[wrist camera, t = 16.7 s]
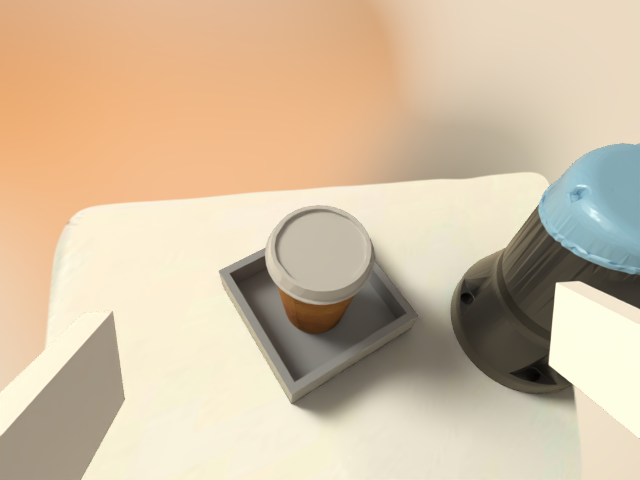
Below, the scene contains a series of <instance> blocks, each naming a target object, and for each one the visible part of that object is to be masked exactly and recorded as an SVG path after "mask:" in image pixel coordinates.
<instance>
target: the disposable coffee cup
mask: <svg viewBox="0 0 640 480" xmlns="http://www.w3.org/2000/svg"><path fill="white" fill-rule="evenodd" d="M265 259H266V266H267V269H268V272H269V274H270V276H271V278H272V280H273V281H274V282H275V283H276V285H277V287H278V290H279V293H280V296H281V300H282V302H283V306H284V309H285V312H286V315H287V317H288V319H289V321H290V322H291V323H292V324H293V325H294V326H295V327H296V328H298V329H299V330H301V331H304V332H306V333H311V334H318V333H323V332H326V331H329V330H331V329H332V328H334V327H335V326H336V325H337V324H338V323H339V321H340V320H341V318H342V316H343V314H344V313H345V311H346V309H347V308H348V306H349V304H350V303H351V301H352V299H353V298H354V296H355V294H357V293H358V292H359V291H360V290H361V289H362V288H363V287H364V286H365V285H366V283H367V281H368V280H369V278H370V277H371V274H372V272H373V269H374V263H375V254H374V247H373V245H372V242H371V239H370V238H369V235H368V233H367V232H366V230H365V228H364V227H363V225H362V224H361V223H360V222H359V221H358V220H357V219H356V218H355V217H353V216H352V215H350V214H349V213H347V212H345V211H343V210H341V209H338V208H335V207H330V206H320V205H317V206H309V207H304V208H301V209H298V210H295V211H294V212H292V213H290V214H288V215H287V216H286V217H285V218H284V219H282V220H281V221H280V222H279V224H278V225H277V227H276V228H275V229H274V230H273V232H272V233H271V235H270V236H269V239H268V241H267V244H266V250H265Z"/></svg>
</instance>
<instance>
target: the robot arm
mask: <svg viewBox="0 0 640 480" xmlns="http://www.w3.org/2000/svg"><path fill="white" fill-rule="evenodd" d="M451 319H452V325H453V329H454V332H455V334H456V337H457V339H458V341H459V343H460V345H461V347H462V349H463V350H464V352H465V353H466V354H467V356H468V357H469V358H470V360H471V361H472V362H473V363H474V364H475V365H476V366H477V367H478V368H479V369H480V370H481V371H483V372H484V373H485V374H486V375H488V376H489V377H490V378H492V379H494V380H495V381H497V382H499V383H501V384H502V385H505V386H507V387H509V388H512V389H515V390H518V391H522V392H527V393H537V394H542V393H551V392H556V391H559V390H562V389H564V388H566V387H568V386H570V385H572V384H573V385H574V386H576V387H577V388H578V389H579V390H580V391H582V392H583V393H584V394H585V395H587V396H588V397H589V398H590V399H591V400H593V401H594V402H595V403H596V404H598V405H599V406H600V407H601V408H603V409H604V410H605V411H606V412H608V413H609V414H610V415H611V416H612V417H614V418H615V419H616V420H617V421H619V422H620V423H621V424H622V425H624V426H625V427H626V428H627V429H628V430H630V431H631V432H632V433H633V434H634V435H636V436H637V437H638V438H639V439H640V144H636V145H633V144H614V145H610V146H605V147H602V148H599V149H596V150H593V151H591V152H589V153H587V154H585V155H583V156H582V157H580V158H579V159H578V160H576V161H575V162H574V163H573V164H572V165H571V166H570V167H569V168H568V169H567V170H566V172H565V173H564V174H563V175H562V176H561V177H560V178H559V179H558V180H557V181H556V182H554V183H553V184H552V185H550V186H549V187H548V189H547V190H546V191H545V192H544V194H543V195H542V199H541V201H540V203H539V205H538V206H537V207H536V209H535V210H534V211H533V213H532V214H531V215H530V217H529V218H528V219H527V221H526V222H525V223H524V225H523V226H522V227H521V229H520V230H519V231H518V233H517V234H516V235H515V236H514V238H513V239H512V240H511V242H510V243H509V244H508V246H507V247H506V248H504V249H502V250H500V251H498V252H496V253H494V254H491V255H489V256H487V257H485V258H483V259H481V260H480V261H478V262H477V263H475V264H474V265H473V266H472V267H471V268H470V269H469V270H468V271H467V272H466V273H465V275H464V276H463V277H462V279H461V280H460V282H459V283H458V285H457V287H456V289H455V291H454V294H453V297H452V302H451ZM124 400H125V398H124V390H123V383H122V376H121V368H120V361H119V353H118V346H117V338H116V331H115V324H114V316H113V311H103V312H88V313H83V314H82V315H81V316H80V317H79V318H78V319H77V320H76V321H75V322H74V323H73V324H72V325H71V326H70V327H69V328H68V329H67V330H65V331H64V332H63V333H62V334H61V335H60V336H59V337H58V338H57V339H56V340H55V341H54V342H53V343H52V344H51V345H50V346H49V347H48V348H47V349H46V350H45V351H43V352H42V353H41V354H40V356H38V357H37V358H36V359H35V360H34V361H33V362H32V363H31V364H30V365H29V366H28V367H27V368H26V369H25V370H24V371H23V372H21V374H20V375H18V376H17V377H16V378H15V379H14V380H13V381H12V382H11V383H10V384H9V385H8V386H7V387H6V388H5V389H4V390H3V391H2V392H0V480H81V479H82V477H83V475H84V473H85V471H86V469H87V468H88V466H89V464H90V462H91V460H92V459H93V457H94V455H95V453H96V451H97V449H98V448H99V446H100V444H101V442H102V440H103V438H104V437H105V435H106V433H107V431H108V429H109V427H110V426H111V424H112V422H113V420H114V418H115V417H116V415H117V413H118V411H119V409H120V407H121V406H122V404H123V402H124Z"/></svg>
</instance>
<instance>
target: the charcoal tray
mask: <svg viewBox="0 0 640 480" xmlns="http://www.w3.org/2000/svg"><path fill="white" fill-rule="evenodd" d="M265 250H266V248H264V249H262V250H260V251H258V252H256V253H254V254H252V255H250V256H248V257H246V258H244V259H242V260H240V261H238V262H236V263H234V264H232V265H230V266H228V267H226V268H224V269H222V270H220V271H219V273H220V277H221V281H222V284H223V287H224V289H225V291H226V292H227V294H228V296H229V297H230V299H231V301H232V303H233V304H234V306H235V308H236V309H237V311H238V313H239V315H240V316H241V318H242V320H243V322H244V323H245V325H246V327H247V328H248V330H249V332H250V334H251V335H252V337H253V339H254V340H255V342H256V344H257V346H258V347H259V349H260V351H261V352H262V354H263V356H264V358H265V359H266V361H267V363H268V365H269V366H270V368H271V370H272V371H273V373H274V375H275V377H276V378H277V380H278V382H279V383H280V385H281V387H282V389H283V390H284V392H285V394H286V395H287V397H288V399H289V401H290V402H291V404H292V403H294V402H295V401H297V400H299V399H300V398H302V397H303V396H305V395H306V394H308V393H310V392H311V391H313V390H314V389H316V388H317V387H319V386H321V385H322V384H324V383H325V382H327V381H329V380H330V379H332V378H333V377H335V376H336V375H338V374H340V373H341V372H343V371H344V370H346V369H347V368H349V367H351V366H352V365H354V364H355V363H357V362H359V361H360V360H362V359H363V358H365V357H366V356H368V355H370V354H371V353H373V352H374V351H376V350H377V349H379V348H381V347H382V346H384V345H385V344H387V343H389V342H390V341H392V340H393V339H395V338H396V337H398V336H400V335H401V334H403V333H404V332H406V331H407V330H409V329H410V328H411V327H412V325H413V323H414V322H415V320H416V318H417V317H418V315H417V314H416V312H415V311H414V310H413V309H412V307H411V306H410V305H409V303H408V302H407V301H406V300H405V298H404V297H403V296H402V295H401V293H400V292H399V291H398V290H397V288H396V287H395V286H394V284H393V283H392V282H391V281H390V279H389V278H388V277H387V276H386V274H385V273H384V272H383V270H382V269H381V268H380V267H379V265H378V264H377V263H376V262H375V263H374V269H373V272H372V274H371V277H370V278H369V280H368V281H367V283H366V285H365V286H364V287H363V288H362V289H361V290H360V291H359V292H358V293H357V294H355V296H354V298H353V299H352V301H351V303H350V304H349V306H348V308H347V309H346V311H345V313H344V314H343V316H342V318H341V320H340V321H339V323H338V324H337V325H336V326H335V327H334V328H332V329H331V330H329V331H326V332H323V333H318V334H311V333H306V332H304V331H301V330H299V329H298V328H296V327H295V326H294V325H293V324H292V323H291V322H290V321H289V319H288V317H287V315H286V312H285V309H284V306H283V302H282V300H281V296H280V293H279V290H278V287H277V285H276V283H275V282H274V281H273V280H272V278H271V276H270V274H269V272H268V269H267V266H266V259H265Z"/></svg>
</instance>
